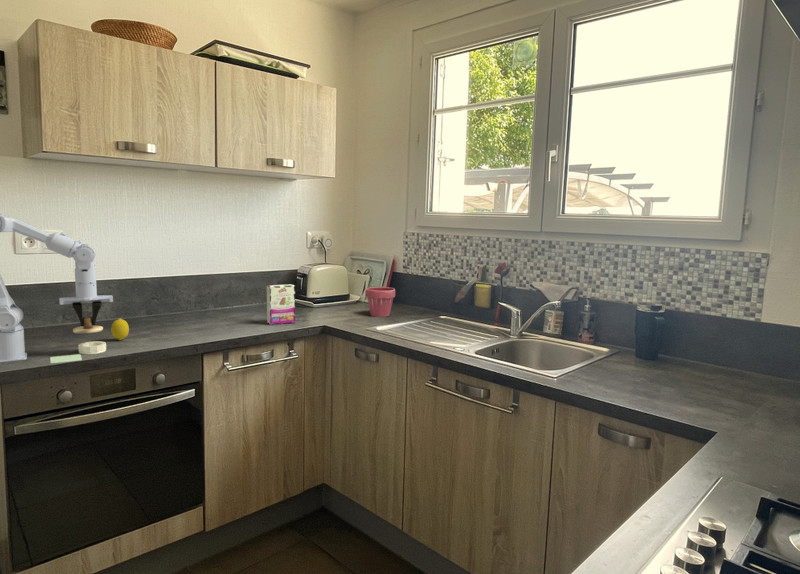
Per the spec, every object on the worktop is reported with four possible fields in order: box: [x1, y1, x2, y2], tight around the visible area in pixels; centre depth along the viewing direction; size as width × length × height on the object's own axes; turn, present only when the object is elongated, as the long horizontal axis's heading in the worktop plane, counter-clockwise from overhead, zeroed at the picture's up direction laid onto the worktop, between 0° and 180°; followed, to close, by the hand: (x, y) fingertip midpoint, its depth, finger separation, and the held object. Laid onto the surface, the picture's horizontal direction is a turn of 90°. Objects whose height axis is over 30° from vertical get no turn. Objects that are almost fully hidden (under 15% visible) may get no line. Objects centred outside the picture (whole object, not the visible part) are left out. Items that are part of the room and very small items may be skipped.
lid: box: [72, 316, 104, 334], centre depth 170 cm, size 8×8×4 cm
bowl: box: [77, 341, 107, 355], centre depth 173 cm, size 8×8×3 cm
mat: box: [49, 353, 83, 364], centre depth 164 cm, size 8×8×1 cm
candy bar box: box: [266, 283, 296, 326], centre depth 228 cm, size 11×5×16 cm, turn 123°
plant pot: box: [365, 286, 396, 318], centre depth 255 cm, size 14×14×13 cm
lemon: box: [110, 318, 130, 341], centre depth 189 cm, size 6×6×8 cm
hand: (87, 325), depth 171 cm, fingers closed on lid, 3 cm apart
